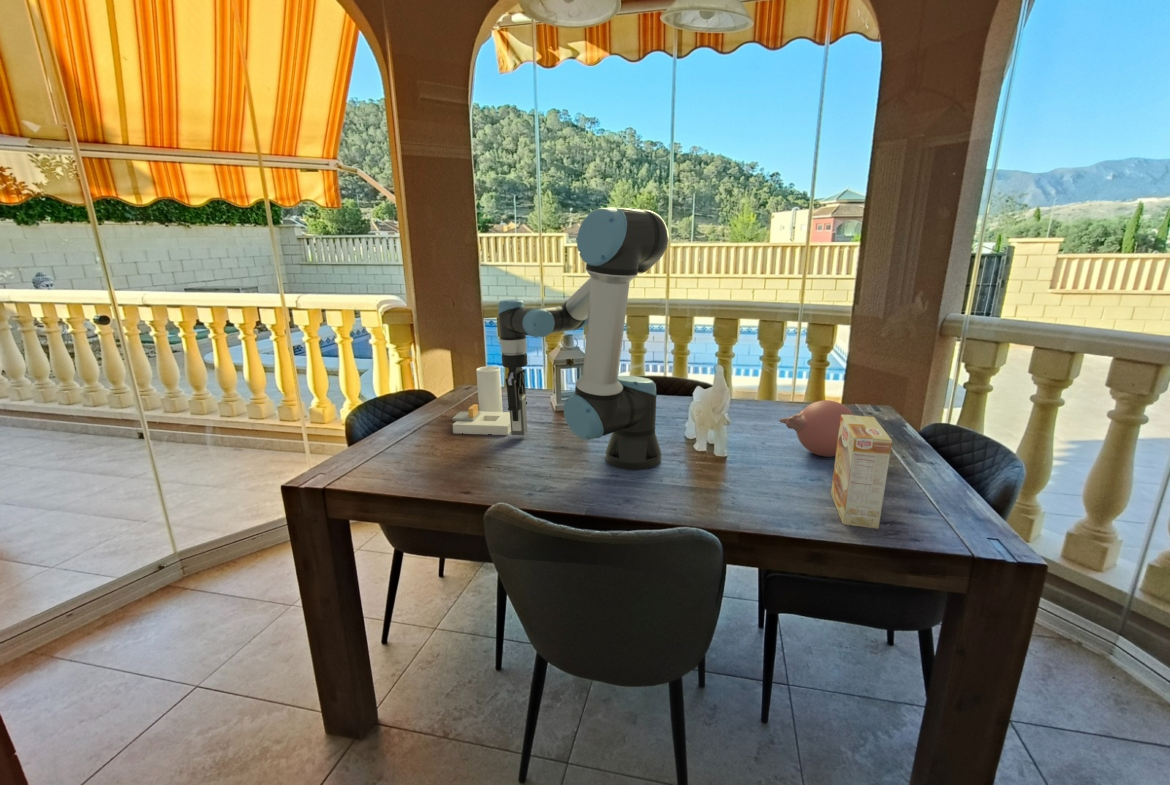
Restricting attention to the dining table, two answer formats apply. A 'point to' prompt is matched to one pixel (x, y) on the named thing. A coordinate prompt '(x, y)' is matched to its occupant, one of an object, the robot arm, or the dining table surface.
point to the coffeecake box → (860, 470)
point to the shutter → (468, 414)
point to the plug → (523, 416)
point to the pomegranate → (818, 426)
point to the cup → (489, 389)
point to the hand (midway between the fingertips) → (519, 427)
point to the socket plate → (485, 424)
